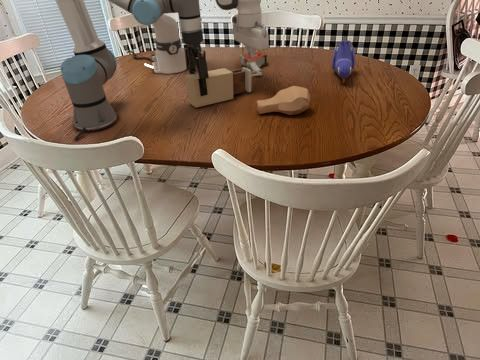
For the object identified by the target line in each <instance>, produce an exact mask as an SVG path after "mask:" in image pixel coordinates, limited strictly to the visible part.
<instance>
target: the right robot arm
mask: <svg viewBox="0 0 480 360" xmlns="http://www.w3.org/2000/svg"><path fill="white" fill-rule="evenodd" d="M261 2H262V0H215V4H216V5H217V6H218V7H219V9H220V10H222V11H231V10H234V9H236V10H237V15H234V16H232V17H231V23H232V33H233V34H232V35H233V39H234V41H236V42H238V43H240V44H243V45H245V46H244V47H245V50H246V54H247V56H249V57H251V58H254V57H256V54H255V53H257V50H258V51H259V52H265V51H267V50H268V49H269V46H270V43H269V41H270V40H269V32H268V29H267V28H266V26H265V24H264V23H263V22H262V20H263V19H262V6H261ZM178 24H179V23H178V22H177V20H176V19H175V18H173V17H172V16H170V15H167V14H163V15H162V16H161V17H160V18H159V19H158V20H157V21H156V22H155V23H153V24H151V25H152V28H153V31H154V36H155V48H156V50H155V52H154V53H152V54H151V57H147V56H136V55H137V54H136V53H135V52H134V51H132V50H130V49H129V50H127V51H126V53H127V54H129V53H130V54H132V55H133V58H134V59H135V60H136V59H137V60H148V61H150V62H152V63H151V65H150V64H147V63H144V66H145V67H148V68H151V69H153V72H154V74H167V75H168V74H169V75H171V74H177V73H181V72H184V71H187V68H186V59H185V51H184V47H182V46H183V44H182V38H180V31H179V25H178Z"/></svg>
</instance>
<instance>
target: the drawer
mask: <svg viewBox="0 0 480 360" xmlns="http://www.w3.org/2000/svg"><path fill="white" fill-rule="evenodd" d="M230 71H231V72H233V95H237V94H241V93H245V92H247V93H251V92H252V77H257V76H256V75H259V76H260V77H261V76H263V72H260V71H258V70H255V71H253V70H250V69H247V67H246V66H242V67H241V68H238V69H234V70H230ZM254 73H256V74H254Z"/></svg>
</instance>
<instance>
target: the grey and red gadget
mask: <svg viewBox="0 0 480 360" xmlns="http://www.w3.org/2000/svg"><path fill="white" fill-rule="evenodd" d="M267 55H268V54H267V53H266V52H265V51H258V52H257V51H256V52H255V57H254V58H251V57H249V56H247V53H245V54H242V53H241V54H240V55H239V63H240V64H242V67H246V68H247V69H250V70H251V71H252V72H253V71H255V70H258V71H260V72H262V73H263V69H262V68H261V67H262V66H265V65H267V62H268V60H267V58H268V56H267ZM253 74H256V73H253ZM258 76H260V75H256V76H255V77H258Z"/></svg>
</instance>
